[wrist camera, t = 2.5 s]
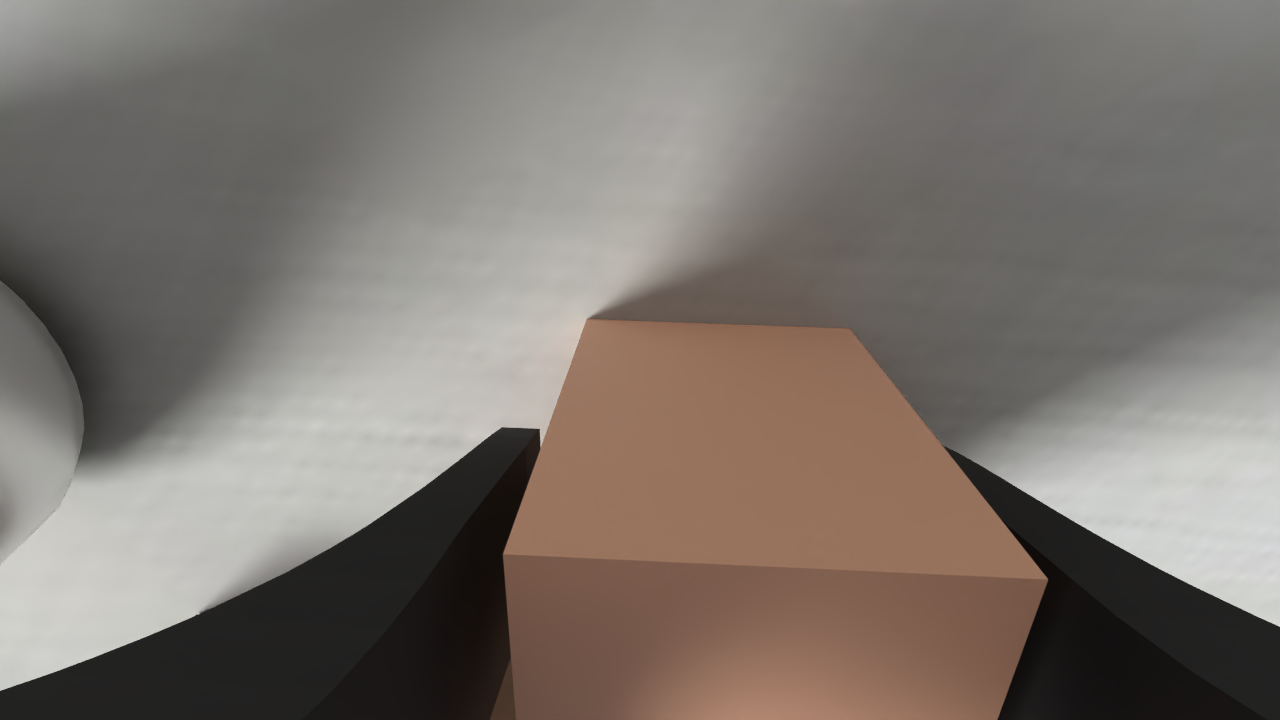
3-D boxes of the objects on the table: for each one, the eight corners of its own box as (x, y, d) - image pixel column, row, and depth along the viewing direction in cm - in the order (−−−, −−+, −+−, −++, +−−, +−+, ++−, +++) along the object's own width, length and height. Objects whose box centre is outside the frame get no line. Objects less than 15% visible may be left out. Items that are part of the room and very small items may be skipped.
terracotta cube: (849, 327, 11) (1048, 579, 5) (813, 539, 12) (932, 896, 7) (586, 318, 11) (502, 554, 5) (589, 529, 12) (528, 872, 7)
